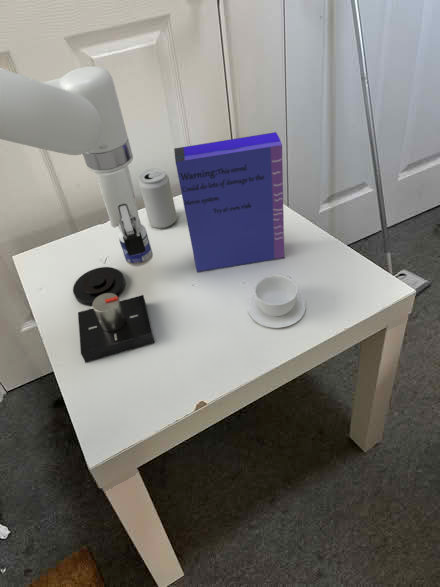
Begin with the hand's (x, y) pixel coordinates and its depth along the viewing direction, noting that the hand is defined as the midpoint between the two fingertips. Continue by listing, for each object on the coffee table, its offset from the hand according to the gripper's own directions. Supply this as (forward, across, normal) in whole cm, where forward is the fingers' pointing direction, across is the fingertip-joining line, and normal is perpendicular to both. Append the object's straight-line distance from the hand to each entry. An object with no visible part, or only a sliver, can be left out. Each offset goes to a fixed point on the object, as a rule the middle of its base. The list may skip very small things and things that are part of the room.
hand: (134, 242), depth 85 cm
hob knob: (+6, +13, -7) cm, 16 cm away
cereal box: (+9, +2, +19) cm, 21 cm away
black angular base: (+8, +13, -7) cm, 17 cm away
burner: (+8, 0, -9) cm, 12 cm away
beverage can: (+9, -17, +7) cm, 20 cm away
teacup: (+9, +18, +21) cm, 29 cm away
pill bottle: (+4, 0, 0) cm, 4 cm away
